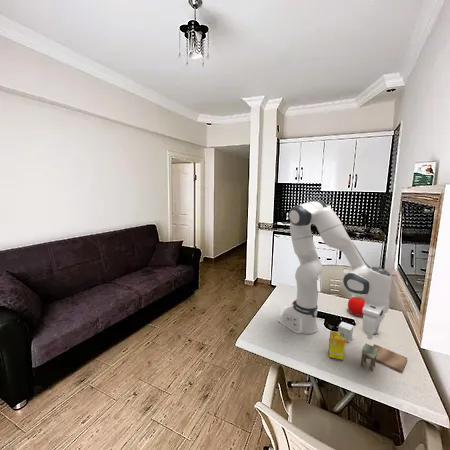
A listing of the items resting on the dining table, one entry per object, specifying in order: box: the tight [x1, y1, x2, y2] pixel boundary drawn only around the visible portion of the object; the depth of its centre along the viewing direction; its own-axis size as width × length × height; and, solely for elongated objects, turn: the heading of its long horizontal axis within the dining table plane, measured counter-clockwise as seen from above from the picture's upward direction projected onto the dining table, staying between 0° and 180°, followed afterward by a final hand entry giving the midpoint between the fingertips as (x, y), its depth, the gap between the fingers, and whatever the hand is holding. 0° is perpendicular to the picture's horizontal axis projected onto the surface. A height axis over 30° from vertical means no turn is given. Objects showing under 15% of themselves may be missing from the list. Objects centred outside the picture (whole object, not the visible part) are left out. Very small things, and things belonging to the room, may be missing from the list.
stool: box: [360, 343, 378, 372], centre depth 113 cm, size 5×5×9 cm
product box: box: [337, 321, 354, 344], centre depth 133 cm, size 6×6×7 cm
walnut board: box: [367, 343, 408, 374], centre depth 119 cm, size 14×12×1 cm
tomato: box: [347, 296, 365, 316], centre depth 159 cm, size 11×12×10 cm
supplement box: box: [327, 330, 346, 362], centre depth 119 cm, size 6×6×11 cm
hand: (373, 334), depth 111 cm, fingers open, 8 cm apart
